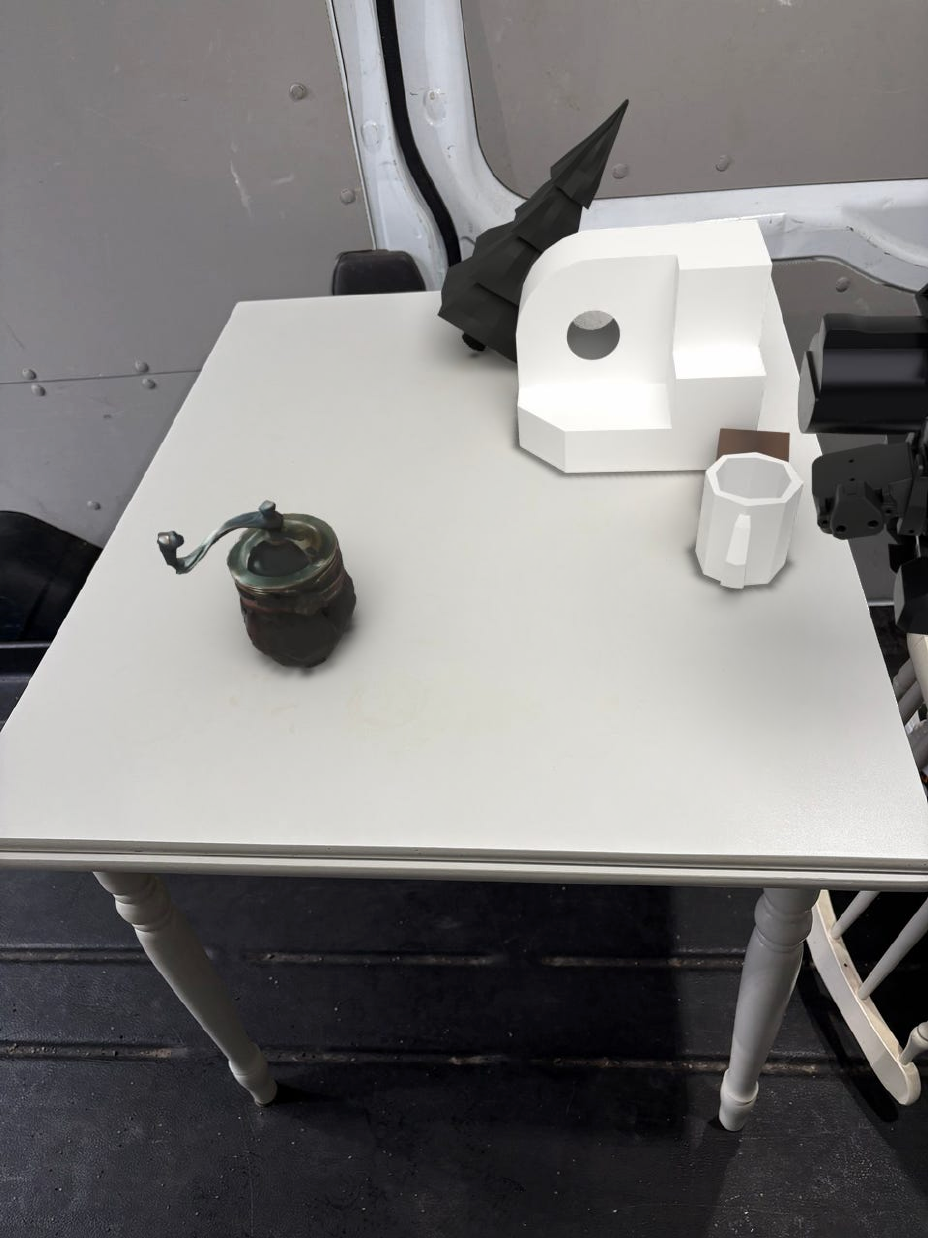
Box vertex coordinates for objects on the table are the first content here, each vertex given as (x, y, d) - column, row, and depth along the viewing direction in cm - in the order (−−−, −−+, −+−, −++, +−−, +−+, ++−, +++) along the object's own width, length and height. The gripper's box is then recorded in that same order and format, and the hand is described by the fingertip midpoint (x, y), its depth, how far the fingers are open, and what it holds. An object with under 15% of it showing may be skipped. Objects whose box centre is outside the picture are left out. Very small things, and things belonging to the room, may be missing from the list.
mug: (700, 526, 87) (711, 447, 80) (787, 538, 84) (806, 457, 77) (682, 606, 79) (692, 526, 72) (777, 621, 77) (797, 540, 70)
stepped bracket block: (517, 473, 97) (505, 303, 82) (524, 395, 108) (516, 233, 94) (750, 469, 93) (781, 289, 78) (732, 387, 105) (756, 219, 90)
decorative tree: (515, 395, 115) (686, 157, 92) (421, 341, 110) (575, 77, 87) (519, 342, 125) (673, 116, 102) (432, 291, 120) (573, 43, 97)
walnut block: (780, 479, 91) (789, 432, 87) (778, 519, 87) (788, 472, 82) (713, 473, 93) (720, 427, 89) (708, 513, 88) (715, 466, 84)
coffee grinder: (196, 662, 81) (124, 516, 68) (315, 579, 87) (269, 432, 75) (274, 730, 74) (210, 583, 61) (396, 635, 81) (361, 484, 68)
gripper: (831, 344, 57) (790, 521, 68) (837, 514, 45) (786, 696, 56) (1014, 351, 54) (941, 535, 65) (1073, 536, 42) (970, 723, 53)
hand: (907, 614), depth 60 cm, fingers closed
